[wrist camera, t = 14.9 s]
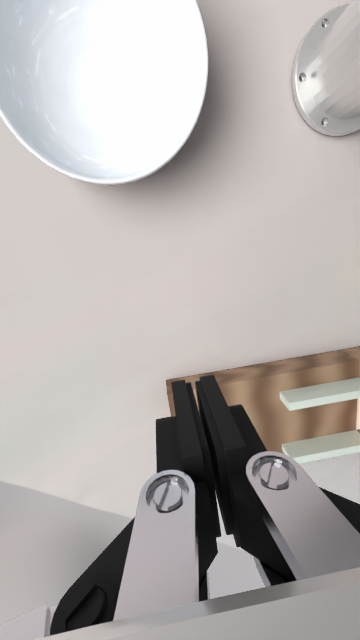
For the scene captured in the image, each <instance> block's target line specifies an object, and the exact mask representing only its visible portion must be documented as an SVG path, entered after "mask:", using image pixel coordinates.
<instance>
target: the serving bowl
mask: <svg viewBox="0 0 360 640" xmlns="http://www.w3.org/2000/svg"><path fill="white" fill-rule="evenodd" d="M207 81H208V47H207V39H206V32H205V28H204V23H203V19H202V15H201V12H200V9H199V6H198V3H197V1H196V0H0V115H1V117H2V119H3V120H4V122H5V123H6V125H7V126H8V127H9V129H10V130H11V132H12V133H13V134H14V135H15V137H16V138H17V139H18V140H19V141H20V142H21V143H22V144H23V145H24V146H25V147H26V148H27V149H28V150H29V151H30V152H31V153H32V154H33V155H34V156H36V157H37V158H38V159H39V160H40V161H42V162H43V163H45V164H46V165H48V166H49V167H51V168H52V169H54V170H56V171H58V172H60V173H62V174H64V175H66V176H68V177H71V178H73V179H76V180H80V181H83V182H87V183H92V184H99V185H120V184H126V183H131V182H135V181H138V180H141V179H143V178H145V177H147V176H149V175H151V174H153V173H155V172H156V171H158V170H159V169H161V168H162V167H163V166H164V165H166V164H167V163H168V162H169V161H170V160H171V159H172V158H173V157H174V156H175V155H176V154H177V153H178V152H179V151H180V149H181V148H182V147H183V145H184V144H185V143H186V141H187V139H188V138H189V136H190V135H191V133H192V131H193V129H194V127H195V125H196V123H197V120H198V118H199V115H200V112H201V109H202V106H203V102H204V98H205V94H206V88H207Z"/></svg>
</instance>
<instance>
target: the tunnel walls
mask: <svg viewBox="0 0 360 640" xmlns="http://www.w3.org/2000/svg"><path fill="white" fill-rule="evenodd" d="M357 398H360V378H359V377H358V378H353V379H347V380H342V381H336V382H331V383H325V384H320V385H314V386H308V387H303V388H297V389H292V390H286V391H281V392H280V400H281V401H282V402H283V403H284V405H285V406H286V407H287V408H288V410H289V411H292V410H297V409H303V408H308V407H314V406H319V405H324V404H330V403H335V402H341V401H346V400H352V399H357ZM282 451H283V453H284V454H285V455H287V456H289V457H291V458H292V459H294V460H295V461H296V462H297V463H298V464H300V463H305V462H310V461H316V460H321V459H326V458H331V457H336V456H341V455H346V454H352V453H357V452H360V433H359V432H358V431H357V430H353V431H347V432H342V433H337V434H332V435H326V436H321V437H316V438H310V439H305V440H300V441H295V442H289V443H284V444H282Z"/></svg>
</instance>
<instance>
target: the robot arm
mask: <svg viewBox="0 0 360 640" xmlns="http://www.w3.org/2000/svg"><path fill="white" fill-rule="evenodd" d="M292 89H293V96H294V100H295V103H296V106H297V108H298V110H299V112H300V114H301V116H302V117H303V119H304V120H305V121H306V122H307V124H308V125H309V126H311V127H312V128H313V129H314V130H316V131H318V132H320V133H322V134H325V135H329V136H343V135H347V134H351V133H353V132H355V131H357V130H359V129H360V0H352V2H351V3H350V4H346V5H342V6H338V7H336V8H334V9H332V10H330V11H328V12H327V13H326V14H324V15H323V16H322V17H321V18H319V19H318V21H317V22H316V23H315V24H314V25H313V26H312V27H311V29H310V30H309V32H308V33H307V34H306V36H305V37H304V39H303V41H302V43H301V45H300V47H299V49H298V51H297V54H296V57H295V60H294V66H293V72H292ZM171 385H172V392H173V400H174V407H175V415H176V416H172V417H167V418H161V419H156V454H157V474H155V475H153V476H152V477H151V478H150V479H148V480H147V482H146V483H145V484H144V486H143V488H142V490H141V493H140V497H139V501H138V506H137V511H136V516H135V517H134V518H133V520H132V521H131V522H130V523H129V524H128V525H127V526H126V527H125V528H124V529H123V530H122V532H121V533H120V534H119V535H118V536H117V537H116V538H115V539H114V540H113V541H112V542H111V544H110V545H109V546H108V547H107V548H106V549H105V550H104V551H103V552H102V554H100V555H99V557H98V558H97V559H96V560H95V561H94V562H93V563H92V564H91V565H90V566H89V567H88V569H87V570H86V571H85V572H84V573H83V574H82V575H81V576H80V578H78V579H77V580H76V582H75V583H74V584H73V585H72V586H71V587H70V588H69V589H68V591H67V592H66V593H65V595H64V596H63V597H62V599H61V600H60V602H59V603H58V604H56V605H54V606H52V607H50V608H49V606H48V604H47V603H45V604H43V605H41V606H39V607H37V608H35V609H33V610H31V611H29V612H27V613H24V614H22V615H20V616H18V617H16V618H14V619H12V620H10V621H8V622H5V623H3V624H1V625H0V640H360V504H357V503H355V502H353V501H350V500H348V499H346V498H343V497H341V496H339V495H336V494H334V493H332V492H329V491H327V490H325V489H322V488H320V487H318V486H317V485H316V483H315V482H314V481H313V480H312V479H311V478H310V477H309V475H308V474H307V473H306V472H305V471H304V470H303V469H302V467H301V466H300V465H299V464H298V463H297V462H296V461H295V460H294V459H292V458H291V457H289V456H287V455H285V454H283V453H279V452H274V451H267V449H266V448H265V446H264V444H263V442H262V440H261V438H260V437H259V435H258V433H257V431H256V429H255V427H254V426H253V424H252V422H251V420H250V418H249V416H248V415H247V413H246V411H245V409H244V407H243V406H242V405H241V404H238V405H233V406H228V405H227V403H226V400H225V398H224V396H223V394H222V392H221V389H220V387H219V385H218V383H217V381H216V379H215V376H214V375H207V376H201V377H200V381H195V386H196V394H197V401H198V407H197V403H196V399H195V396H194V392H193V388H192V385H191V382H189V383H185V379H184V380H178V381H173V382H171ZM198 408H199V410H198ZM215 491H216V493H215ZM216 495H217V499H218V503H219V507H220V511H221V515H222V519H223V523H224V527H225V531H226V534H227V535H230V534H233V535H234V539H235V542H236V546H237V547H241V548H242V549H244V550H245V551H247V552H248V553H250V554H251V555H253V556H254V561H255V564H256V567H257V569H258V571H259V574H260V576H261V578H262V580H263V582H264V584H265V586H266V587H265V588H260V589H256V590H251V591H246V592H242V593H237V594H233V595H228V596H224V597H219V598H214V599H210V592H209V591H210V590H209V574H208V568H209V566H210V564H211V563H212V561H213V560H214V558H215V556H216V555H217V553H218V550H217V543H216V537H221V531H220V523H219V516H218V508H217V501H216Z"/></svg>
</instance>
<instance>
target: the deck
mask: <svg viewBox="0 0 360 640" xmlns="http://www.w3.org/2000/svg"><path fill="white" fill-rule="evenodd" d="M207 375H214V376H215V379H216V381H217V383H218V385H219V387H220V389H221V392H222V394H223V396H224V398H225V400H226V403H227V405H228V406H233V405H238V404H241V405H242V406H243V407H244V409H245V411H246V413H247V415H248V416H249V418H250V420H251V422H252V424H253V426H254V427H255V429H256V431H257V433H258V435H259V437H260V438H261V440H262V442H263V444H264V446H265V448H266V449H267V451H274V452H279V453H283V451H282V444H284V443H289V442H295V441H300V440H305V439H310V438H316V437H321V436H326V435H332V434H337V433H342V432H347V431H353V430H357V431H358V432H359V433H360V398H357V399H352V400H346V401H341V402H335V403H330V404H324V405H319V406H314V407H308V408H303V409H297V410H292V411H289V410H288V408H287V407H286V406H285V405H284V403H283V402H282V401H281V400H280V392H281V391H286V390H292V389H297V388H303V387H308V386H314V385H320V384H325V383H331V382H336V381H342V380H347V379H353V378H358V377H359V378H360V347H354V348H349V349H343V350H337V351H331V352H326V353H320V354H314V355H308V356H303V357H297V358H291V359H285V360H280V361H274V362H268V363H262V364H257V365H251V366H245V367H239V368H233V369H228V370H222V371H216V372H210V373H205V374H199V375H193V376H187V377H182V378H176V379H170V380H166V385H167V395H168V401H169V406H170V412H171V417H172V416H176V415H175V407H174V400H173V392H172V385H171V382H173V381H178V380H184V379H185V383H189V382H191V385H192V388H193V392H194V396H195V399H196V403H197V407H198V401H197V394H196V386H195V381H200V377H201V376H207ZM198 410H199V408H198ZM283 454H284V453H283Z"/></svg>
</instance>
